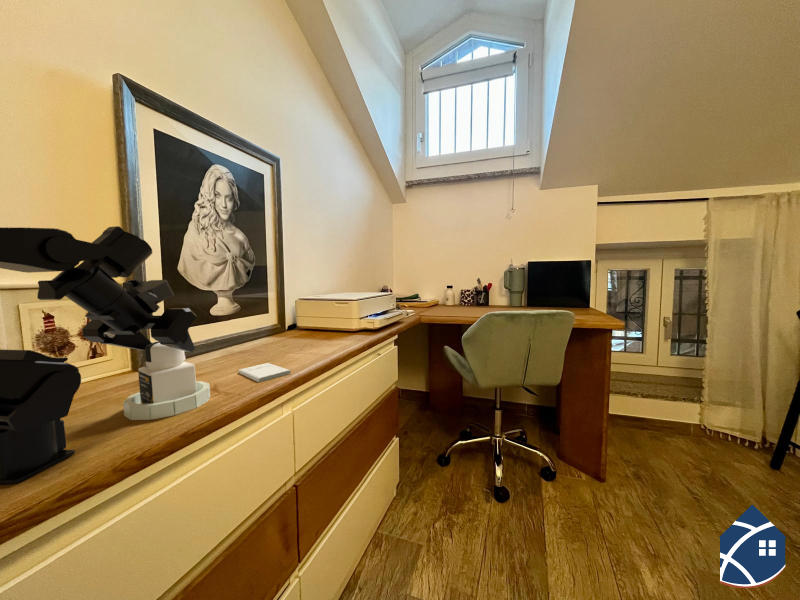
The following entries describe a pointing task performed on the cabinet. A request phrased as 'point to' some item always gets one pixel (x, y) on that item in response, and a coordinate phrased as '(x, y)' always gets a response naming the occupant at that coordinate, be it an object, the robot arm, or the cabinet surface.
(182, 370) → the medicine bottle
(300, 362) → the cabinet surface
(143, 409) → the pale green round tray
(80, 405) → the cabinet surface
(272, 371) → the external hard drive
